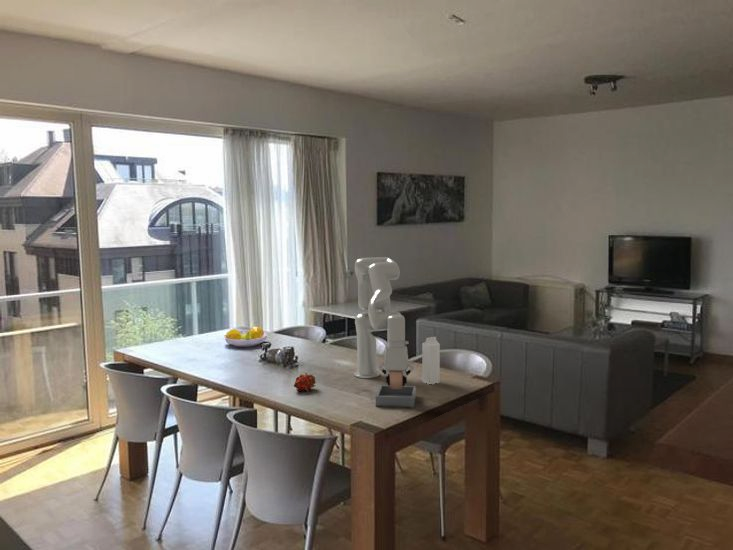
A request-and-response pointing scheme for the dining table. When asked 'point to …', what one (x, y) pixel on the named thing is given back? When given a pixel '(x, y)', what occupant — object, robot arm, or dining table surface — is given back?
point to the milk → (431, 361)
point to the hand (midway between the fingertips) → (396, 384)
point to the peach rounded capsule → (396, 379)
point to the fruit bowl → (245, 337)
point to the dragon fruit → (305, 382)
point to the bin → (396, 396)
